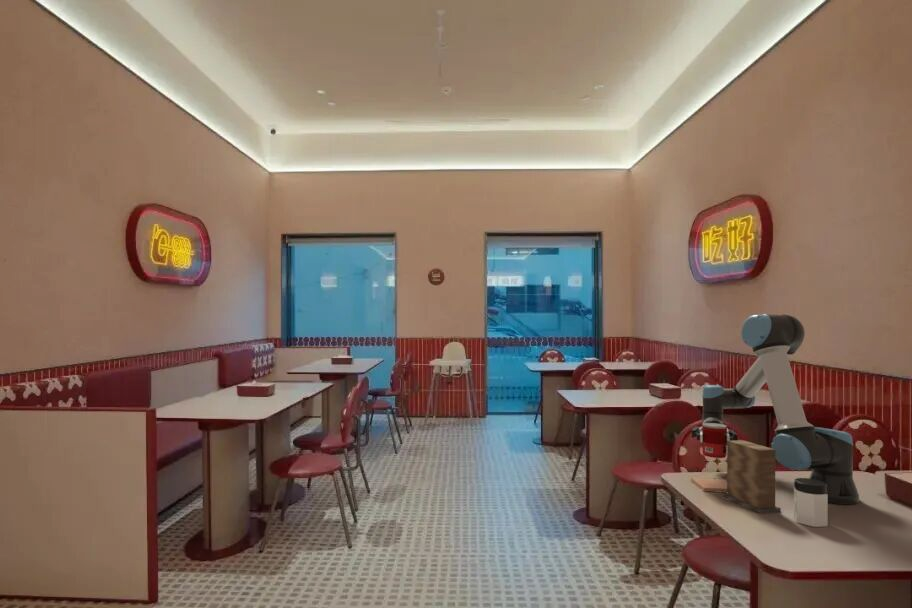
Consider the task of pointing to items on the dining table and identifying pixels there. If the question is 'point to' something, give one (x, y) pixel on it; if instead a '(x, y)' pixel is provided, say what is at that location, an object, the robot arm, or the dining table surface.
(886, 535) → the dining table surface
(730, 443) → the wooden block
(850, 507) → the dining table surface
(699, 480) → the terracotta tile
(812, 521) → the jar
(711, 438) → the canned food
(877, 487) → the dining table surface
